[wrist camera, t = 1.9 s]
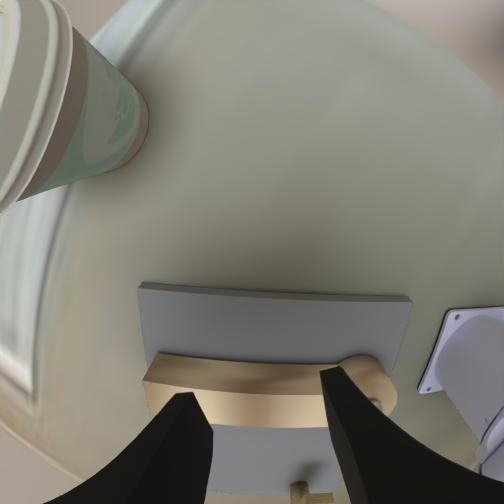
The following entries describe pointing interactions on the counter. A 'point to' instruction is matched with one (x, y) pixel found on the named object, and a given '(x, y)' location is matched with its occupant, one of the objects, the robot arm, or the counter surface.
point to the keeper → (308, 495)
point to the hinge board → (271, 352)
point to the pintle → (377, 404)
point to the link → (260, 389)
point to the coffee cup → (59, 104)
